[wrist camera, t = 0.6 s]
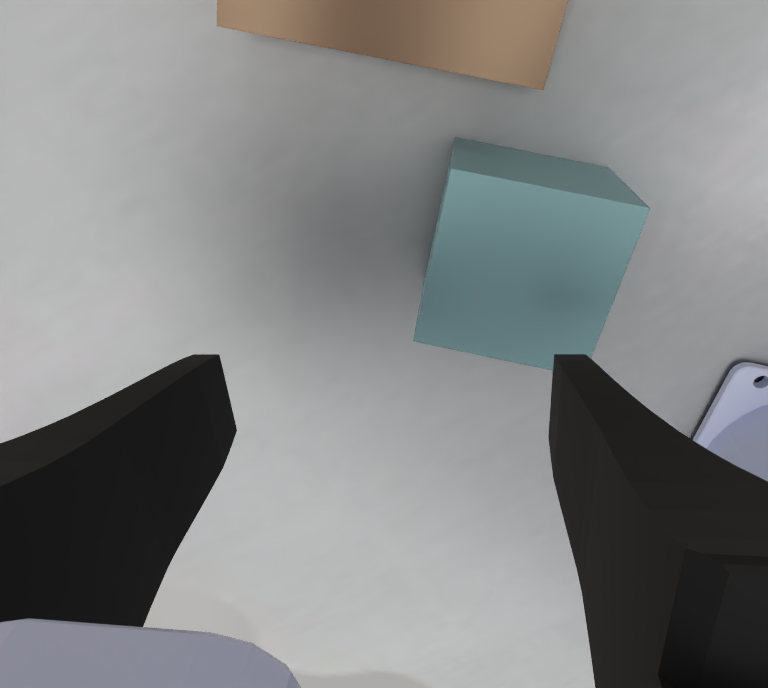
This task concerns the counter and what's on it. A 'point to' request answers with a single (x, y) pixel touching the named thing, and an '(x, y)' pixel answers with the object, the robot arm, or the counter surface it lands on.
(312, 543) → the counter surface
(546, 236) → the teal cube
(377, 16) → the walnut block
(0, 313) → the counter surface
